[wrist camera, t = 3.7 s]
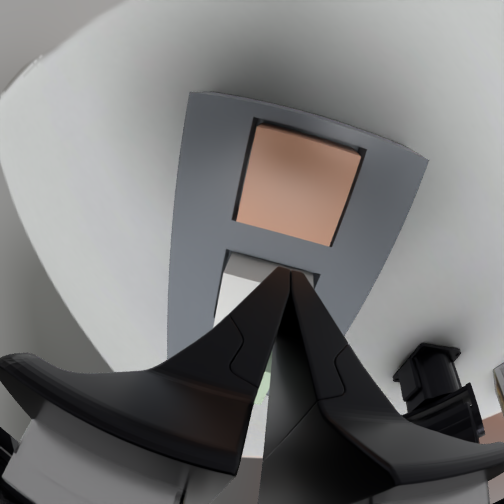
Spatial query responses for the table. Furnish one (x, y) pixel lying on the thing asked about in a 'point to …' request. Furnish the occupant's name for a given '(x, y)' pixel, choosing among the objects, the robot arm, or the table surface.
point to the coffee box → (499, 384)
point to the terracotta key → (296, 183)
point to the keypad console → (266, 241)
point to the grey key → (244, 281)
